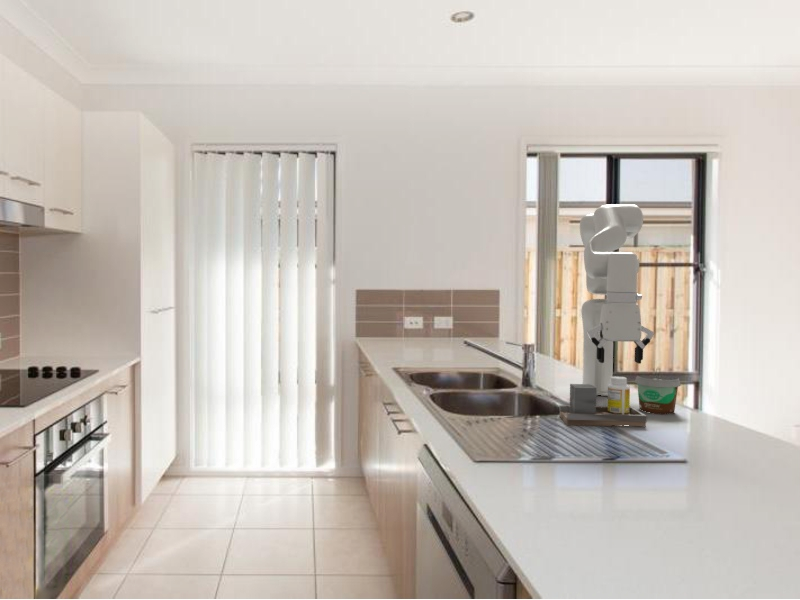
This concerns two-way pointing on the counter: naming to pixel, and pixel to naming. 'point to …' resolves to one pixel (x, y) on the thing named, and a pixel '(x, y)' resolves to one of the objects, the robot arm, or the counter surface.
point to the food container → (657, 395)
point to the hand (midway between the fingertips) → (619, 362)
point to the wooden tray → (595, 410)
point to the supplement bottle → (618, 396)
